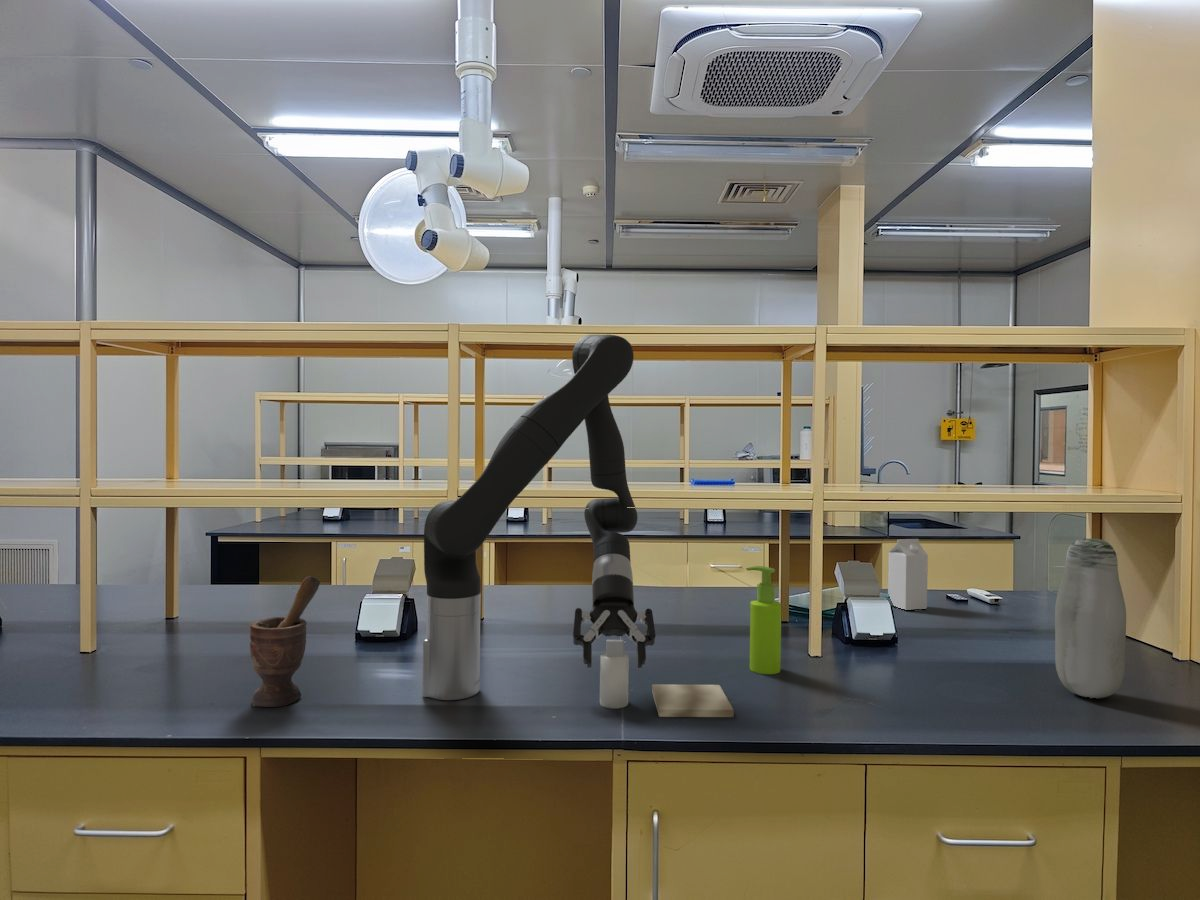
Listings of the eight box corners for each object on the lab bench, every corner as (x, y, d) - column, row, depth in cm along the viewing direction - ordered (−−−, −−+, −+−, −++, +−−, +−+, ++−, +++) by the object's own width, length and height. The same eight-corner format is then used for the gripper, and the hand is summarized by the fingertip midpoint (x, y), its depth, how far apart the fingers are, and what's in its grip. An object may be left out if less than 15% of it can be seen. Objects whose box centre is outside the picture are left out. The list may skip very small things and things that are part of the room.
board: (659, 716, 114) (659, 709, 114) (651, 691, 126) (651, 684, 126) (733, 717, 114) (733, 709, 114) (719, 691, 126) (719, 684, 126)
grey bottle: (1111, 710, 120) (1114, 544, 119) (1045, 692, 128) (1047, 537, 128) (1133, 698, 125) (1135, 540, 125) (1068, 682, 134) (1070, 534, 134)
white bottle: (599, 708, 117) (600, 644, 117) (599, 698, 122) (600, 636, 122) (628, 708, 117) (629, 644, 117) (627, 698, 122) (628, 636, 122)
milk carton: (887, 606, 198) (888, 537, 198) (908, 604, 200) (909, 537, 200) (905, 611, 191) (906, 541, 191) (927, 610, 193) (928, 540, 193)
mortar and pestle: (281, 684, 127) (283, 572, 127) (325, 687, 125) (327, 574, 125) (237, 707, 116) (239, 584, 115) (285, 711, 114) (287, 587, 114)
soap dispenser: (753, 662, 144) (754, 563, 144) (785, 669, 139) (786, 567, 139) (739, 668, 139) (740, 567, 139) (772, 676, 135) (773, 571, 135)
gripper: (574, 572, 128) (572, 654, 117) (652, 573, 129) (658, 654, 117) (574, 595, 134) (572, 676, 122) (649, 596, 134) (655, 676, 123)
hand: (614, 665), depth 120 cm, fingers open, 8 cm apart
